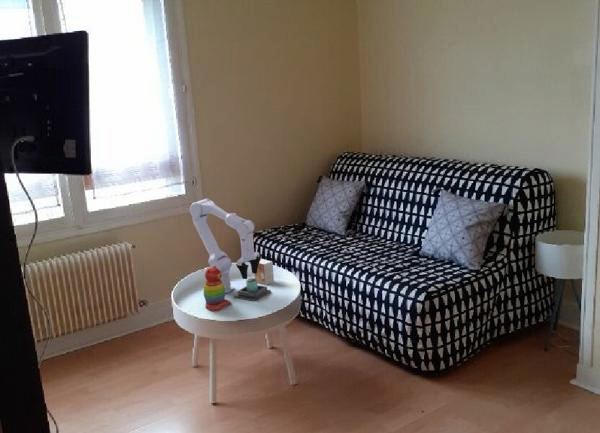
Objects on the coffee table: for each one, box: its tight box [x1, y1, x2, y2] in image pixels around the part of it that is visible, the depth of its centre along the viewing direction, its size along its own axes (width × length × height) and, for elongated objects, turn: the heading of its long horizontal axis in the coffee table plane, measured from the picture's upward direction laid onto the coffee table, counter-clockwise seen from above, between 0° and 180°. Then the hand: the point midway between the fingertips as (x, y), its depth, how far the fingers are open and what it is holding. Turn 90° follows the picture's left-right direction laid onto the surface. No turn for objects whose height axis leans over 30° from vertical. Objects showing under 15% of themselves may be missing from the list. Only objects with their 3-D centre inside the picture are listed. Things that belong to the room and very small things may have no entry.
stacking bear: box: [203, 266, 232, 312], centre depth 264 cm, size 11×10×18 cm
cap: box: [245, 277, 259, 293], centre depth 276 cm, size 5×5×6 cm
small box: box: [254, 258, 275, 286], centre depth 292 cm, size 8×6×10 cm
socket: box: [234, 285, 272, 302], centre depth 276 cm, size 12×12×3 cm
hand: (249, 276), depth 276 cm, fingers open, 7 cm apart
